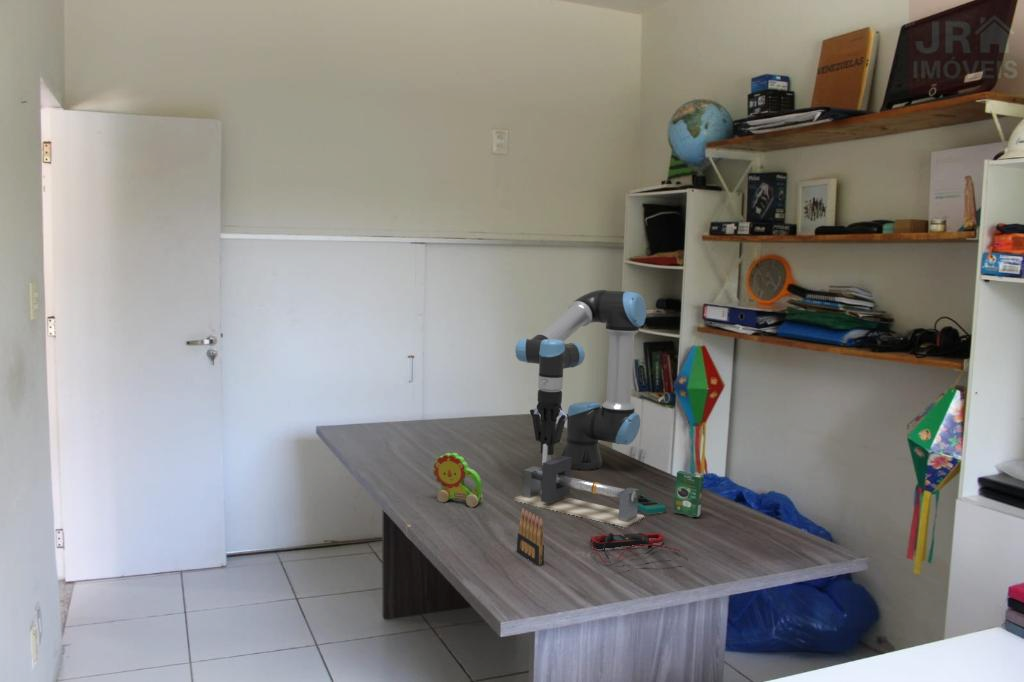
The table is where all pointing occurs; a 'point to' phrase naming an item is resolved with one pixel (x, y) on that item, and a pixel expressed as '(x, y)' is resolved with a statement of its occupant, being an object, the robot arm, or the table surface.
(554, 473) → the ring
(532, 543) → the ammunition clip
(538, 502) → the board
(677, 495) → the coffee box
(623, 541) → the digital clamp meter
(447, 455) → the toy lion
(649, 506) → the digital multimeter
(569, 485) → the pipe
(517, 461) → the table surface
